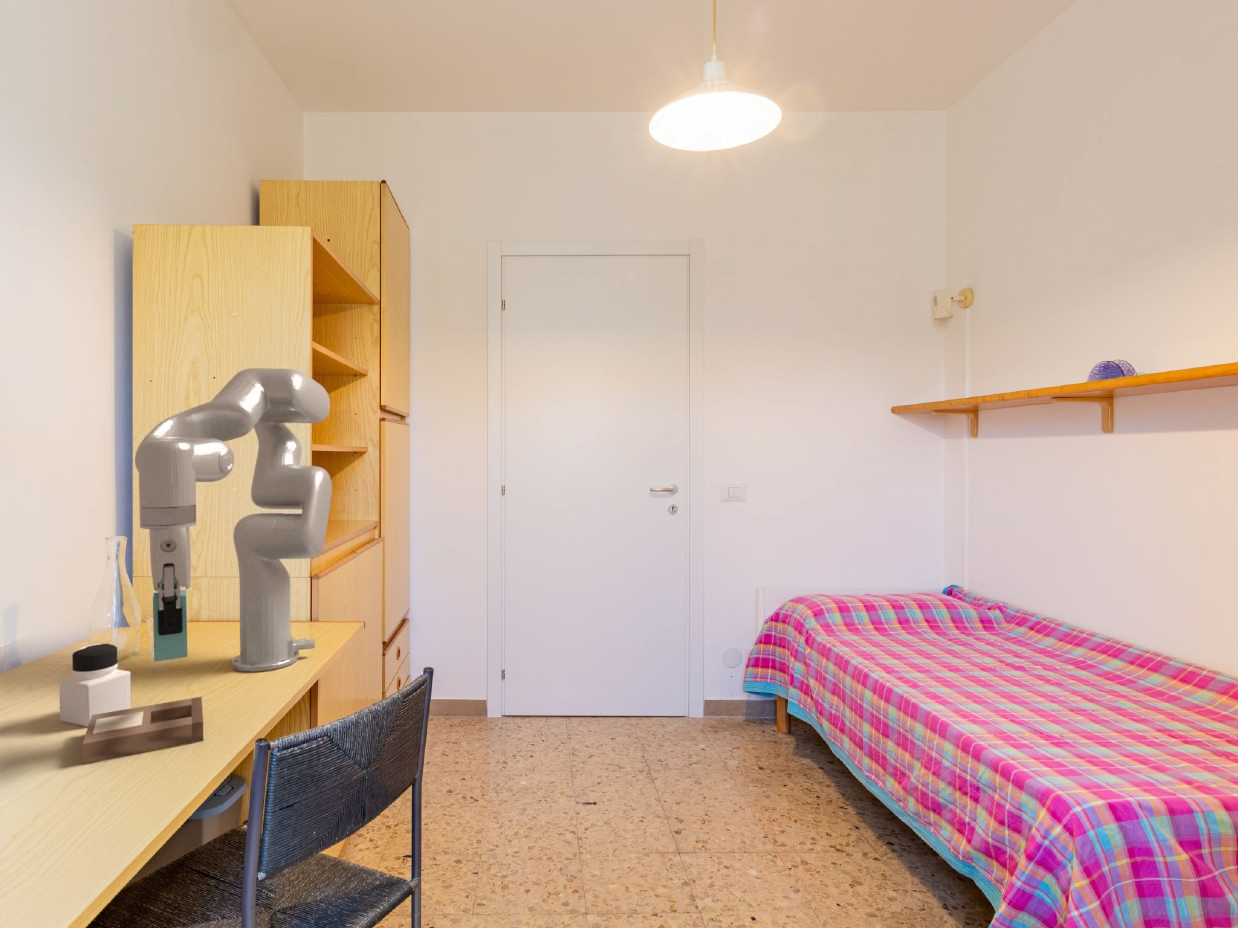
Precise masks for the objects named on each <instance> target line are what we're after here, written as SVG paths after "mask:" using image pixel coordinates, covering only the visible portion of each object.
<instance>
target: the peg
mask: <svg viewBox="0 0 1238 928" xmlns="http://www.w3.org/2000/svg"><path fill="white" fill-rule="evenodd" d="M174 594H176V593H174ZM163 595H164V594H163ZM187 605H188V604H187V589H180V607H182V626H183V631H182V632H181V633H178V634H170V635H162V636H160V635H159V634H158V610H159V591H158V592H153V595H152V619H153V620H152V621H153V625H152V626H153V662H154V663H156V662H160V661H161V662H162V661H170V660H175V659H181V658H182V659H183V658H188V613H187V610H188V609H187ZM163 609H164V608H163Z"/></svg>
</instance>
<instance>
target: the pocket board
mask: <svg viewBox="0 0 1238 928" xmlns="http://www.w3.org/2000/svg"><path fill="white" fill-rule="evenodd" d="M202 699H203V697H202V696H199V697H198V696H197V697H192V698H191V697H190V698H185V699H179V700H174V701H169V702H168V701H167V702H162V703H156V704H151V705H145V706H144V705H143V706H138V707H137V706H136V707H131V709H125V710H119V711H113V712H107V713H101V714H95V715H92V716H91V719H90V722H89V725H88V727H87V729H86V732H85V736H84V738H83V741H82V744H81V745H82V747H81V748H82V749H81V750H82V751H81V752H82V765H85V764H90V763H91V764H92V763H96V762H100V761H106V760H111V759H115V758H121V757H125V756H131V755H137V754H141V753H145V752H151V751H157V750H161V749H165V748H171V747H177V746H182V745H187V744H193V743H197V742H202V741H203V742H204V712H203V700H202Z"/></svg>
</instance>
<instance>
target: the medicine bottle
mask: <svg viewBox="0 0 1238 928" xmlns="http://www.w3.org/2000/svg"><path fill="white" fill-rule="evenodd" d="M71 657H72V660H71V661H72V675H70V676H68V677H64V678H61V679H59V680H58V683H59V685H58V686H59V691H58V693H59V720H60V722H63V723H67V724H68V723H69V724H74V725H77V726H82V727H87V728H88V725H89V722H90V719H91V716H92V715H95V714H101V713H107V712H113V711H119V710H125V709H131V708H132V682H131V678H132V677H131V676H132V675H131V674H132V673H131V671H130V670H129V671H127V670H124V669H118V664H119V663H118V647H117V646H116V645H114V644H110V643H95V644H90V645H89V644H88V645H86V646H82V647H80V648H78V649H76V650H75V651H74V652H73V653H72V656H71Z"/></svg>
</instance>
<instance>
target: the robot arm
mask: <svg viewBox="0 0 1238 928" xmlns="http://www.w3.org/2000/svg"><path fill="white" fill-rule="evenodd" d="M330 410H331V400H330V396H329V393H328V392H327V390H326V389H325V387H324V386H323V385H321V384H320V383H319V382H317V381H316V380H314V379H313V378H312V377H310V376H309V375H308V374H305V373H303V372H302V371H299V370H296V369H293V368H292V369H291V368H270V367H269V368H261V367H259V368H258V367H255V368H253V367H251V368H246V369H245V368H244V369H242V370H240V371H238V372H237V373H236V374H235V375H234V376H232V378H231V379H230V380H229V381H228V382H227V383H226V384H225V385H224V387H222V389H221V390H220V391H219V392H218V393H217V394H216V395H215V396H214V397H213V398H212V399H211V400H210V401H208V402H204V403H202V404H199V405H197V406H194V407H191V408H189V409H186V410H184V411H181V412H179V413H176V414H174V415H171V416H169V417H168V418H165V419H164V420H162V421H160V422H159V423H158V424H156V425H155V427H153V429H151V430H150V432H148V433H147V434H146V435H145V436H144V438H143V439H142V441H141V442H140V443H139V445H138V446H137V449H136V452H135V456H134V465H135V467H136V470H137V472H138V494H139V495H138V496H139V497H138V498H139V501H138V502H139V528H140V529H142V530H143V529H145V530H149V531H148V532H149V534H148V535H149V555H150V556H149V558H150V569H151V577H152V585H153V590H154V591H155V592H156V593H158V592H159V610H158V634H159V635H160V636H162V635H170V634H178V633H181V632H182V631H183V626H182V607H180V590H181V588H184V587H185V590H188V589H189V588H190V587H191V580H192V578H191V577H192V576H191V575H192V574H191V573H192V572H191V539H190V538H191V536H190V528H189V527H194V526H196V525H197V491H196V490H197V488H196V486H197V485H196V483H213V482H217V481H218V482H219V481H220V480H223V479H225V478H227V476H228V475H230V474H231V472H232V471H233V468H234V465H235V454H234V451H233V449H232V448H231V446H230V445H228V444H227V442H228V441H232V440H235V439H239V438H241V437H244V436H246V435H247V434H249V433H250V432H251V431H253V430H254V431H255V434H256V438H257V443H258V450H257V456H256V460H255V465H254V466H255V467H254V471H253V476H252V481H251V489H250V497H251V500H252V501H251V502H252V503H253V504H254V505H255V506H257V507H259V508H261V509H267V510H301V513H282V512H281V513H280V512H279V513H278V512H277V513H276V512H273V513H272V512H269V513H267V512H262V513H261V512H260V513H259V512H258V513H253V514H252V513H251V514H248V515H246V516H244V517H242V518H240V519H239V520H238V522H237V523H236V524H235V525H234V529H233V544H234V549H235V553H236V558H237V565H238V574H239V577H238V579H239V651H240V652H239V655H237V656H235V657H233V658H232V660H231V667H232V668H233V670H236V671H239V672H262V671H270V670H271V671H272V670H276V669H281V668H284V667H287V666H289V665H292V664H294V663H296V662H297V661H299V660H298V659H299V656H300V655H299V654H300V653H299V652H300V650H310V649H315V648H316V645H315V638H313V639H312V638H311V639H307V638H301V639H295V638H293V636H292V634H291V633H292V632H291V578H290V574H289V571H288V570H287V568H286V567H285V565H284V563H282V561H281V560H286V559H287V560H291V559H292V560H294V559H295V560H296V559H297V560H299V559H301V560H302V559H304V560H306V559H307V560H308V559H313V558H316V557H318V556H319V555H320V554H321V553H322V551H323V549H324V546H325V542H326V536H327V532H328V531H327V529H328V523H329V516H330V510H331V509H330V508H331V502H332V495H333V494H332V493H333V486H332V480H331V476H330V474H329V472H328V470H326V469H325V468H324V467H320V466H316V465H301V464H300V463H301V456H302V446H301V443H300V441H299V440H298V438H297V436H296V435H295V434H294V432H293V431H292V430H290V428H289V427H288V426H287V425H286V424H318V423H322V422H323V421H325V420H326V419H327V418H328V416H329V414H330ZM174 593H176V594H174ZM163 594H164V595H163ZM163 608H164V609H163Z"/></svg>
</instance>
